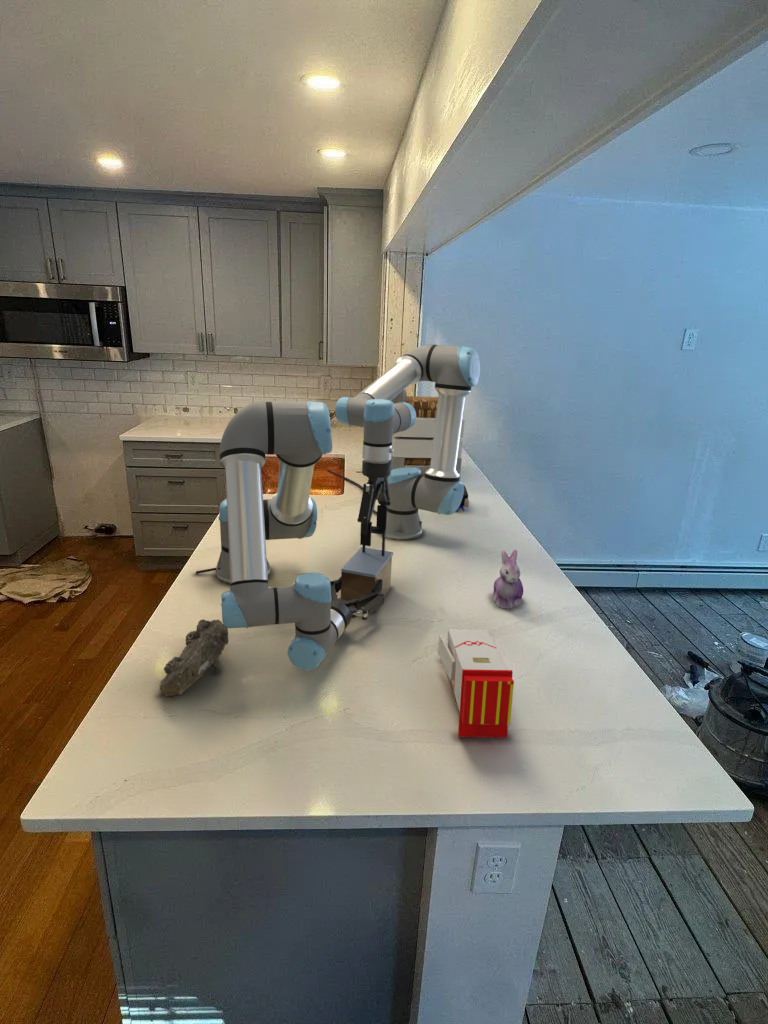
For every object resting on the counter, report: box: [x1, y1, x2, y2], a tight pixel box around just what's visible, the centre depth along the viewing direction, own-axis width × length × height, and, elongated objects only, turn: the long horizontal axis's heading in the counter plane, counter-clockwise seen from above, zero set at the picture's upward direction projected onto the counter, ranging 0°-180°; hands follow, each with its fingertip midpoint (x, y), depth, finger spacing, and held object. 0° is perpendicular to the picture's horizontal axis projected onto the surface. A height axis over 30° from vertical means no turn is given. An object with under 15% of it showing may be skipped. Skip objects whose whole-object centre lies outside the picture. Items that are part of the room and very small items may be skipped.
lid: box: [340, 525, 394, 578], centre depth 151 cm, size 16×9×9 cm, turn 163°
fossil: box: [159, 619, 229, 697], centre depth 120 cm, size 22×10×15 cm
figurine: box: [492, 548, 524, 609], centre depth 154 cm, size 9×10×15 cm
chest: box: [340, 555, 393, 613], centre depth 154 cm, size 15×9×10 cm, turn 163°
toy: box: [437, 628, 515, 738], centre depth 117 cm, size 12×13×30 cm
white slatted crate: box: [390, 389, 465, 482], centre depth 268 cm, size 34×33×41 cm
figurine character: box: [455, 485, 470, 512], centre depth 229 cm, size 7×8×15 cm
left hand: (362, 580), depth 150 cm, fingers closed on chest, 9 cm apart
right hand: (373, 536), depth 154 cm, fingers open, 13 cm apart
